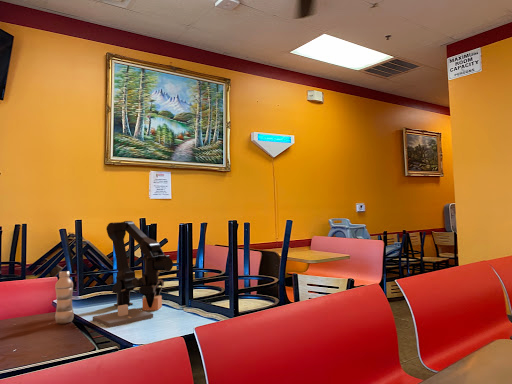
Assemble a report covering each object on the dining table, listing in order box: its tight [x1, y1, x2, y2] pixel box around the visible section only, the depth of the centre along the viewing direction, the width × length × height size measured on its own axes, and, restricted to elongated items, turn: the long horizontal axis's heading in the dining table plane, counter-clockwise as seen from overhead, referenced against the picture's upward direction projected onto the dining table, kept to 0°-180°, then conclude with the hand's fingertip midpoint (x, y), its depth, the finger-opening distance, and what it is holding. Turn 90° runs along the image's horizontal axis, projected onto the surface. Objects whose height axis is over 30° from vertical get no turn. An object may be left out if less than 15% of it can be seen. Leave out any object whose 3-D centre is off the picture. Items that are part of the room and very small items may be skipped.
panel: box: [92, 305, 154, 328], centre depth 156 cm, size 16×18×5 cm
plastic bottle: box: [54, 270, 75, 324], centre depth 153 cm, size 6×7×20 cm
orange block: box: [142, 295, 163, 311], centre depth 173 cm, size 6×7×5 cm
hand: (152, 305), depth 173 cm, fingers closed on orange block, 6 cm apart
